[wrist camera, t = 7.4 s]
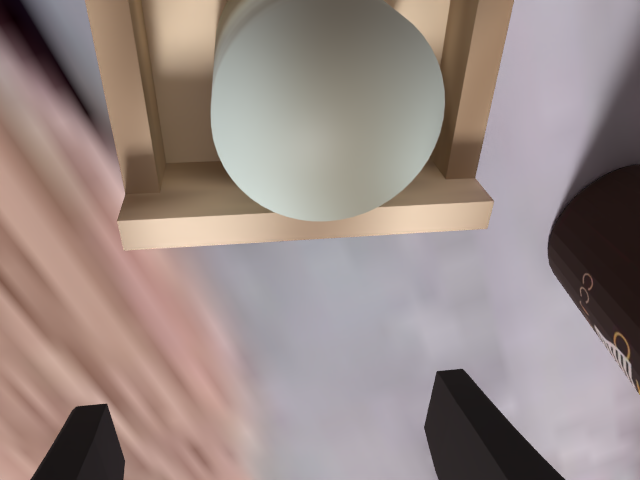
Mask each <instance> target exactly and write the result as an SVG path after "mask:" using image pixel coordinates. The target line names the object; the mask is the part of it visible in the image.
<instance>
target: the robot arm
mask: <svg viewBox="0 0 640 480" xmlns="http://www.w3.org/2000/svg"><path fill="white" fill-rule="evenodd" d="M424 429H425V433H426V437H427V441H428V445H429V449H430V453H431V456H432V460H433V463H434V467H435V471H436V474H437V476H438V479H439V480H565V479H564V478H563V477H562V476H561V475H560V474H559V473H558V472H557V471H556V470H555V469H554V468H553V467H552V466H551V465H550V464H549V463H548V462H547V461H546V460H545V459H544V458H543V457H542V456H541V455H540V454H539V453H538V452H537V451H536V450H535V449H534V448H533V447H532V446H531V444H530V443H529V442H528V441H527V440H526V439H525V438H524V437H523V436H522V435H521V434H520V433H519V432H518V431H517V430H516V429H515V427H514V426H513V425H512V424H511V423H510V422H509V421H508V420H507V419H506V418H505V416H504V415H503V414H502V413H501V412H500V411H499V410H498V409H497V407H496V406H495V405H494V404H493V403H492V402H491V401H490V399H489V398H488V397H487V396H486V395H485V394H484V393H483V391H482V390H481V389H480V388H479V387H478V386H477V384H476V383H475V382H474V381H473V380H472V379H471V377H470V376H469V375H468V374H467V373H466V372H465V371H464V370H463V369H456V370H446V371H437V373H436V377H435V382H434V386H433V390H432V395H431V399H430V404H429V408H428V413H427V417H426V421H425V426H424ZM124 466H125V460H124V456H123V453H122V450H121V447H120V444H119V440H118V437H117V434H116V431H115V428H114V424H113V421H112V418H111V415H110V412H109V408H108V405H107V404H98V405H88V406H78V407H76V408H75V409H73V410H72V412H71V414H70V415H69V417H68V419H67V421H66V422H65V424H64V426H63V428H62V429H61V431H60V433H59V434H58V436H57V438H56V439H55V441H54V443H53V445H52V446H51V448H50V449H49V451H48V453H47V454H46V456H45V458H44V459H43V461H42V462H41V464H40V466H39V467H38V469H37V470H36V472H35V474H34V475H33V477H32V478H31V480H123V477H124Z"/></svg>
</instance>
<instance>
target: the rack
mask: <svg viewBox="0 0 640 480" xmlns="http://www.w3.org/2000/svg"><path fill="white" fill-rule="evenodd" d="M85 3H86V7H87V12H88V17H89V22H90V27H91V31H92V36H93V41H94V46H95V50H96V55H97V60H98V65H99V70H100V74H101V79H102V84H103V89H104V94H105V98H106V103H107V108H108V113H109V118H110V122H111V127H112V132H113V137H114V141H115V146H116V151H117V156H118V161H119V165H120V170H121V175H122V180H123V185H124V189H125V197H124V201H123V204H122V207H121V210H120V213H119V216H118V220H117V223H118V228H119V232H120V236H121V241H122V245H123V250H124V251H125V250H142V249H158V248H175V247H192V246H208V245H225V244H241V243H258V242H275V241H291V240H308V239H324V238H341V237H358V236H374V235H391V234H407V233H424V232H441V231H457V230H474V229H487V228H488V224H489V220H490V216H491V212H492V208H493V203H494V200H493V199H492V198H491V197H490V196H489V194H488V193H487V192H486V191H485V190H484V188H483V187H482V186H481V185H480V184H479V182H478V181H477V180H476V179H475V176H476V171H477V167H478V162H479V158H480V153H481V149H482V144H483V139H484V135H485V130H486V126H487V121H488V117H489V112H490V108H491V103H492V98H493V94H494V89H495V85H496V80H497V76H498V71H499V66H500V62H501V57H502V53H503V48H504V44H505V39H506V35H507V30H508V25H509V21H510V16H511V12H512V7H513V3H514V0H85Z"/></svg>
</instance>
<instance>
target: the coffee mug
mask: <svg viewBox="0 0 640 480" xmlns="http://www.w3.org/2000/svg"><path fill="white" fill-rule="evenodd" d="M548 259H549V265H550V267H551V269H552V271H553V273H554V275H555V276H556V277H557V279H558V280H559V282H560V283H561V284H562V286H563V287H564V289H565V290H566V291H567V293H568V294H569V296H570V297H571V298H572V300H573V301H574V303H575V304H576V306H577V307H578V308H579V310H580V311H581V313H582V314H583V315H584V317H585V318H586V320H587V321H588V322H589V324H590V325H591V327H592V328H593V330H594V331H595V332H596V334H597V335H598V337H599V338H600V339H601V341H602V342H603V344H604V345H605V346H606V348H607V349H608V351H609V352H610V353H611V355H612V356H613V358H614V359H615V361H616V362H617V363H618V365H619V366H620V368H621V369H622V370H623V372H624V373H625V375H626V376H627V377H628V379H629V380H630V382H631V383H632V385H633V386H634V387H635V389H636V390H637V392H638V393H639V394H640V165H632V166H628V167H624V168H620V169H618V170H615V171H613V172H611V173H608V174H606V175H604V176H603V177H601V178H599V179H598V180H596V181H594V182H593V183H591V184H590V185H589V186H587V187H586V188H585V189H584V190H583V191H581V192H580V193H579V194H578V195H577V196H576V197H575V198H574V199H573V200H572V201H571V202H570V203H569V204H568V205H567V207H566V208H565V210H564V211H563V213H562V214H561V215H560V217H559V218H558V220H557V222H556V224H555V226H554V228H553V230H552V234H551V237H550V240H549V246H548Z"/></svg>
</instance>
